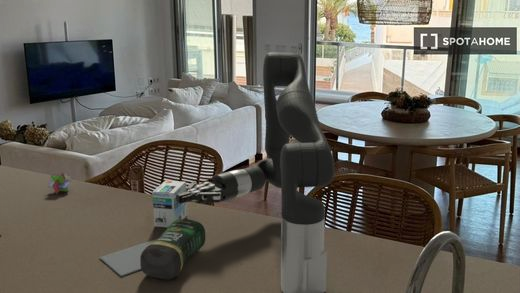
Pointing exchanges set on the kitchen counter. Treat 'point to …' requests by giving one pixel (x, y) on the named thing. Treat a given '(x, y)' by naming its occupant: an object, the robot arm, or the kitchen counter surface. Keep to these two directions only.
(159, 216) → the light bulb box
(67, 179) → the geometric puzzle
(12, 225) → the kitchen counter surface
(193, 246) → the coffee jar
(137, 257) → the grey flat rectangular panel
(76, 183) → the kitchen counter surface
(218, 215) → the kitchen counter surface
